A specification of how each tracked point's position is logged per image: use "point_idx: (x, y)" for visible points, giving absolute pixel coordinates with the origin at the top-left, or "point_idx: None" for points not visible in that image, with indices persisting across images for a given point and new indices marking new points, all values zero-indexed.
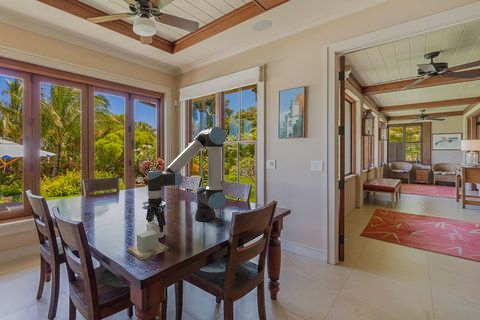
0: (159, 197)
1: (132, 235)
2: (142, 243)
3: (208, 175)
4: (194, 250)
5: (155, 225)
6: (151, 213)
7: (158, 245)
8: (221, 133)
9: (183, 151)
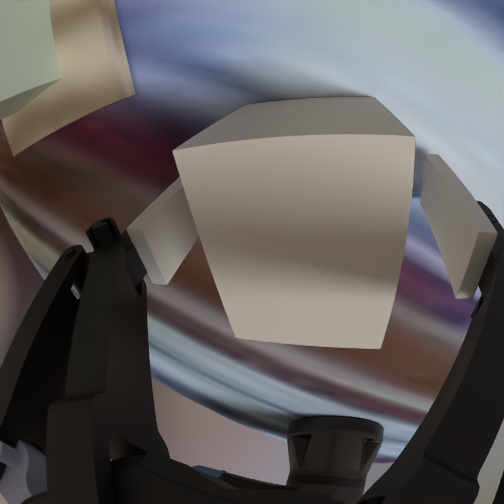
0: None
1: (497, 22)
2: None
3: None
4: (22, 230)
5: (195, 219)
6: (407, 466)
7: (29, 112)
8: None
9: None
